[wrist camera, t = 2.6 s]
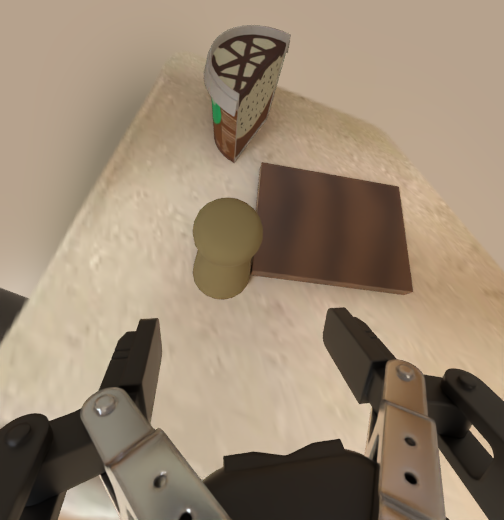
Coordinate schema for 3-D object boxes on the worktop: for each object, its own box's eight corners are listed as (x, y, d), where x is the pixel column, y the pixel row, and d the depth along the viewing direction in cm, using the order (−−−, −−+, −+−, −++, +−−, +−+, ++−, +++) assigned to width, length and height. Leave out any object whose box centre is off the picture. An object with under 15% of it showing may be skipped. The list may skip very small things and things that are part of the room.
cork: (205, 308, 27) (204, 275, 17) (184, 255, 29) (172, 197, 19) (259, 286, 29) (287, 244, 19) (237, 238, 31) (252, 175, 20)
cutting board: (249, 275, 29) (252, 270, 28) (259, 170, 35) (261, 161, 33) (404, 295, 31) (413, 292, 30) (391, 193, 37) (399, 186, 35)
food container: (234, 91, 39) (243, 6, 30) (272, 112, 38) (292, 32, 29) (185, 147, 34) (177, 65, 25) (228, 170, 34) (236, 97, 24)
